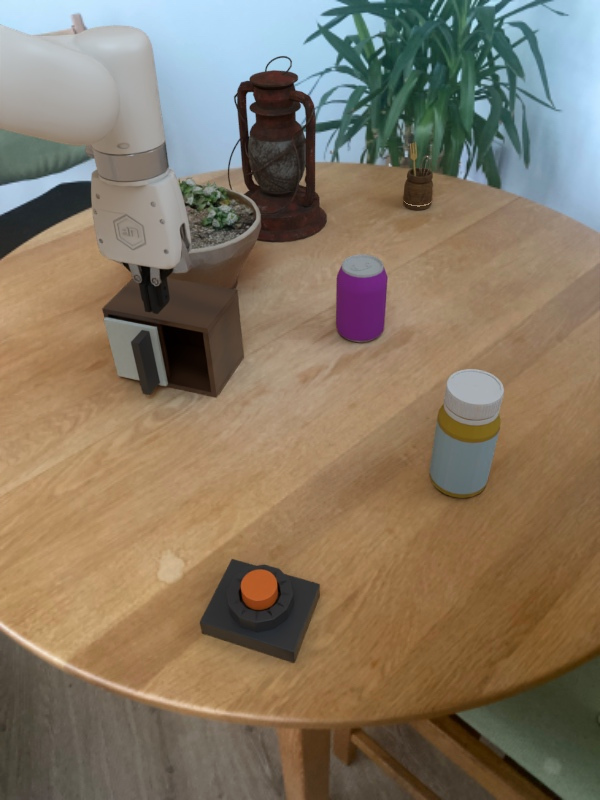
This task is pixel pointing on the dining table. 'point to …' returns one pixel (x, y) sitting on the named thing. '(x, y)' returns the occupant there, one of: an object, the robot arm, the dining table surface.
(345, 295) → the beverage can
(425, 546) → the dining table surface
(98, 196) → the robot arm
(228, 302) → the cabinet
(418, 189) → the utensil holder
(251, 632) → the switch box
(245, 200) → the planter
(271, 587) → the button
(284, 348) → the dining table surface
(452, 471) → the bottle
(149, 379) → the door
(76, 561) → the dining table surface
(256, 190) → the lantern
